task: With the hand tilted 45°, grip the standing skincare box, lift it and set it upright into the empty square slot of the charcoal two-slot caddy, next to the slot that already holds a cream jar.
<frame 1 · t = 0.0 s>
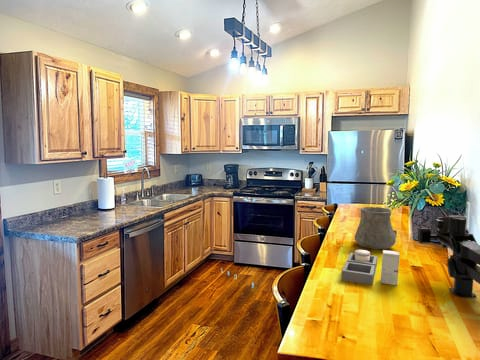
hand: (433, 230, 152), 17 cm above the breakfast bar, tool horizontal, fingers open, 9 cm apart
vessel: (372, 246, 186), on the breakfast bar
skincare box: (389, 282, 139), on the breakfast bar
bottle caddy: (358, 277, 144), on the breakfast bar
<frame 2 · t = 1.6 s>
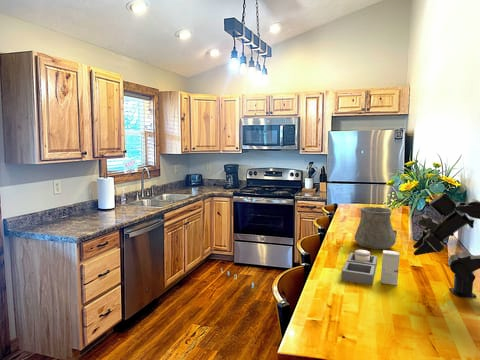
hand: (414, 250, 135), 14 cm above the breakfast bar, tool tilted 45°, fingers open, 9 cm apart
nothing on the breakfast bar moved.
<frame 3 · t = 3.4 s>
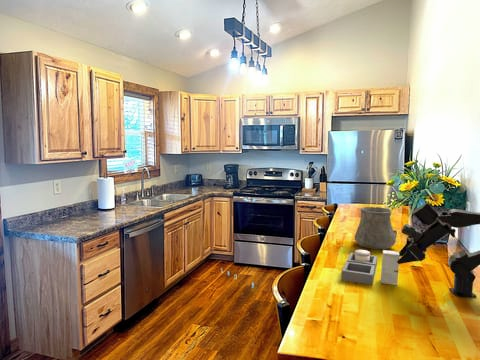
hand: (397, 259, 137), 10 cm above the breakfast bar, tool tilted 45°, fingers open, 9 cm apart
nothing on the breakfast bar moved.
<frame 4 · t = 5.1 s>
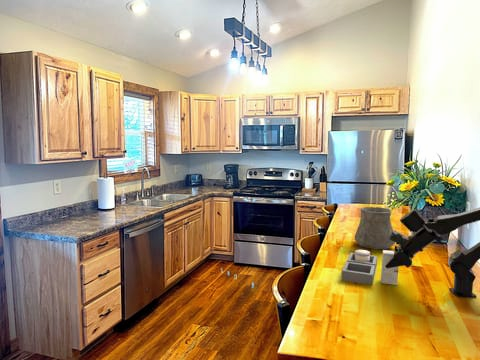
hand: (386, 265, 139), 7 cm above the breakfast bar, tool tilted 45°, fingers closed on skincare box, 4 cm apart
skincare box: (389, 282, 139), on the breakfast bar, touching gripper
everything else where it was.
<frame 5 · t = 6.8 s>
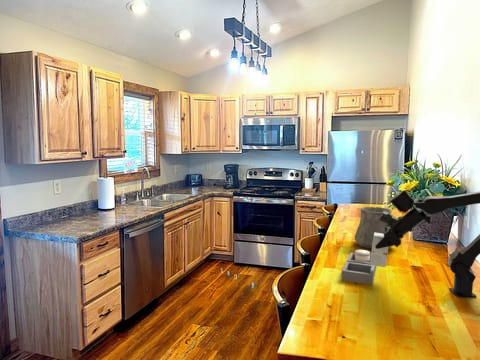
hand: (376, 246, 140), 14 cm above the breakfast bar, tool tilted 45°, fingers closed on skincare box, 4 cm apart
skincare box: (378, 264, 141), point 6 cm above the breakfast bar, touching gripper
everything else where it was.
when the fingers open (9 cm above the breakfast bar, at t = 8.8 s): skincare box stays where it is, resting on bottle caddy.
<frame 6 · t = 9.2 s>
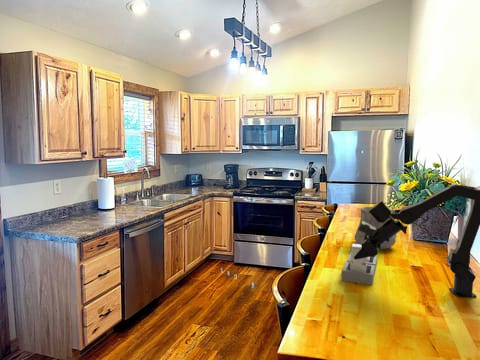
hand: (355, 255, 144), 9 cm above the breakfast bar, tool tilted 45°, fingers open, 8 cm apart
skincare box: (358, 275, 144), point 1 cm above the breakfast bar, touching bottle caddy
everything else where it was.
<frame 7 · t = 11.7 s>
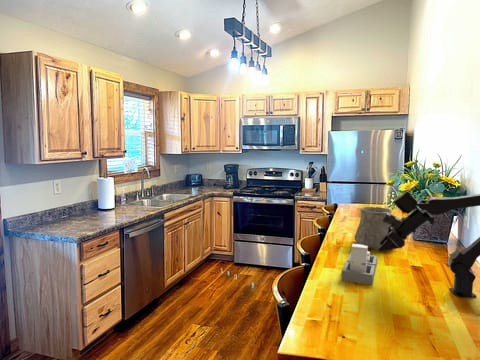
hand: (379, 247, 139), 13 cm above the breakfast bar, tool tilted 45°, fingers open, 9 cm apart
nothing on the breakfast bar moved.
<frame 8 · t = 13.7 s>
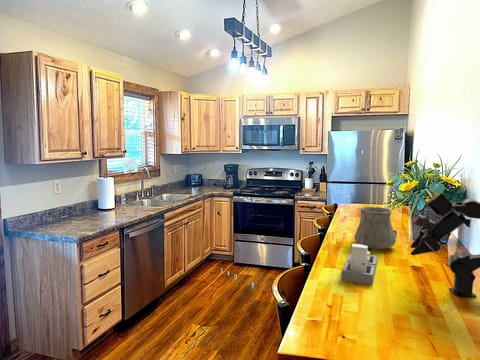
hand: (411, 250, 135), 14 cm above the breakfast bar, tool tilted 45°, fingers open, 9 cm apart
nothing on the breakfast bar moved.
at the end: skincare box 0.4 cm off-centre on the bottle caddy, point 0.8 cm above the bottle caddy's base; skincare box tilted 0°; the gripper is holding nothing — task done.
